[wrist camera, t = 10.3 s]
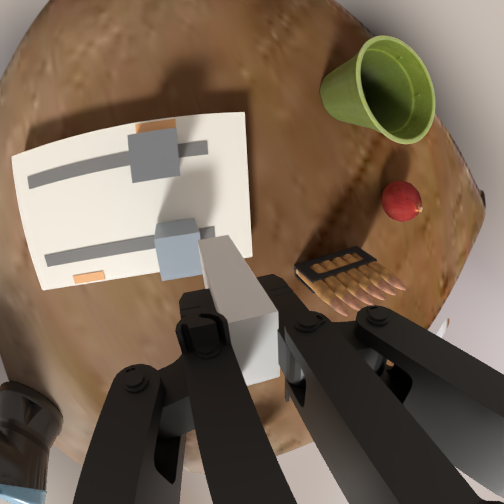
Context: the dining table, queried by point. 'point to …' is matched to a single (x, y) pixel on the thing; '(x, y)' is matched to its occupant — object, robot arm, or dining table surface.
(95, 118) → the dining table surface
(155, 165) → the tab front
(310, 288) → the ammunition clip
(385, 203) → the onion
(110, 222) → the switch panel
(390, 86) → the plant pot
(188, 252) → the tab back
